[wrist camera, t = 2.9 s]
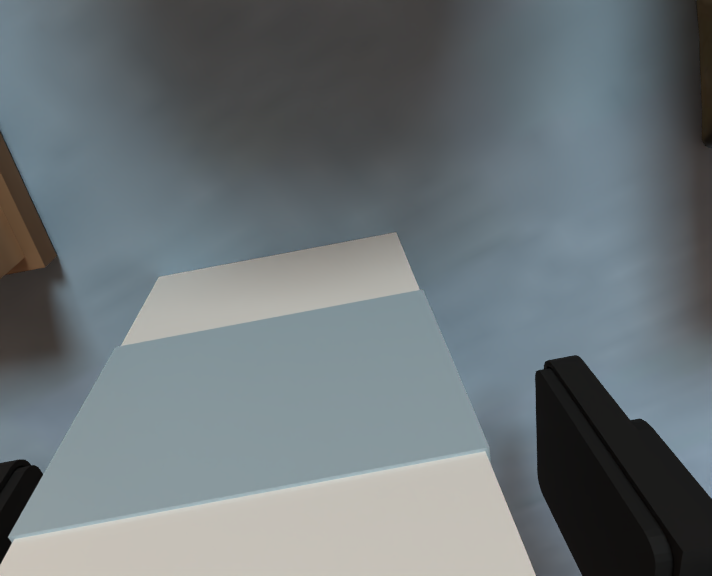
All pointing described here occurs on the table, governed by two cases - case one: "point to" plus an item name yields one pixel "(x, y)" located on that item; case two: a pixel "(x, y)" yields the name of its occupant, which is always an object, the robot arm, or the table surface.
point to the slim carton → (275, 435)
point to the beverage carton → (706, 67)
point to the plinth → (19, 223)
